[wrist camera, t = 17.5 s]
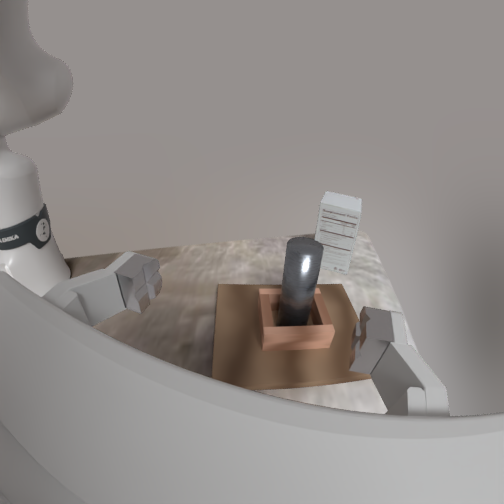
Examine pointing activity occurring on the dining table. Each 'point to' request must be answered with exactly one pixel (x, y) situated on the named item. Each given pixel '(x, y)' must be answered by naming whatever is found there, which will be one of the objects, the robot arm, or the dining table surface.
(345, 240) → the supplement box
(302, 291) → the peg
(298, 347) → the keeper board
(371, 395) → the dining table surface
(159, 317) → the dining table surface
